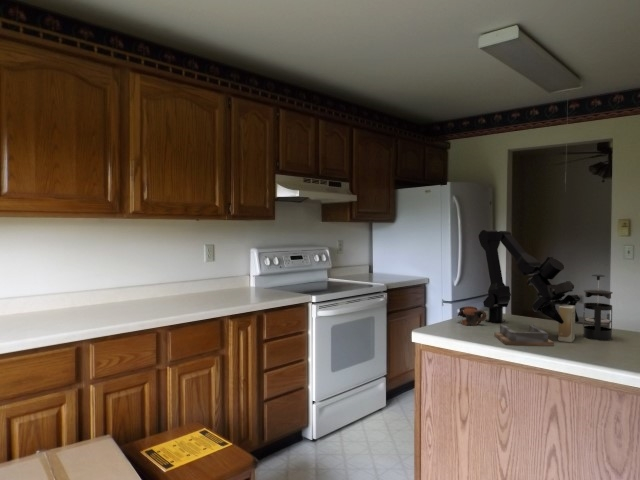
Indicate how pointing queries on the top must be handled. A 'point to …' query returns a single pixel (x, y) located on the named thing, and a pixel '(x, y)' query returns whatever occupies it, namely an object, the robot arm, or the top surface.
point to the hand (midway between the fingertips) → (570, 322)
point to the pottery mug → (471, 315)
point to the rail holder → (524, 337)
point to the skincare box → (567, 323)
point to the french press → (597, 315)
